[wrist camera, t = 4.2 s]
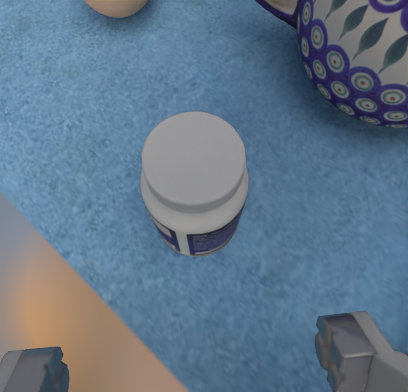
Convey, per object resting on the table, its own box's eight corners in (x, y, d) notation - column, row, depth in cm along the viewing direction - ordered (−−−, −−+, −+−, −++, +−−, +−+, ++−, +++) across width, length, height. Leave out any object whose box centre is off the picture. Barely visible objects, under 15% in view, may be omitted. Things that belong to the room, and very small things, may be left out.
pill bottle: (241, 187, 26) (266, 110, 16) (230, 264, 24) (250, 228, 14) (165, 174, 26) (145, 92, 17) (147, 250, 24) (113, 205, 15)
